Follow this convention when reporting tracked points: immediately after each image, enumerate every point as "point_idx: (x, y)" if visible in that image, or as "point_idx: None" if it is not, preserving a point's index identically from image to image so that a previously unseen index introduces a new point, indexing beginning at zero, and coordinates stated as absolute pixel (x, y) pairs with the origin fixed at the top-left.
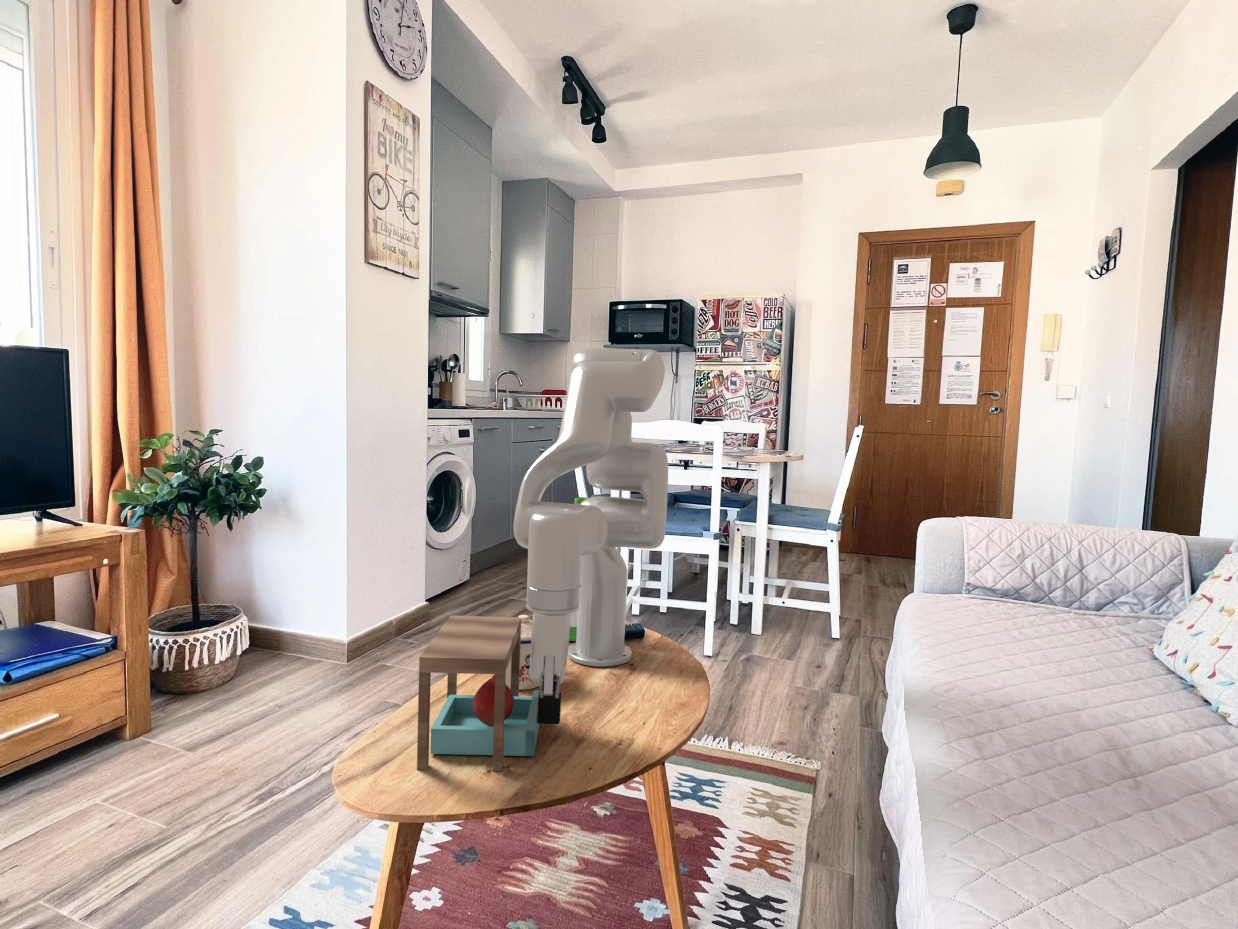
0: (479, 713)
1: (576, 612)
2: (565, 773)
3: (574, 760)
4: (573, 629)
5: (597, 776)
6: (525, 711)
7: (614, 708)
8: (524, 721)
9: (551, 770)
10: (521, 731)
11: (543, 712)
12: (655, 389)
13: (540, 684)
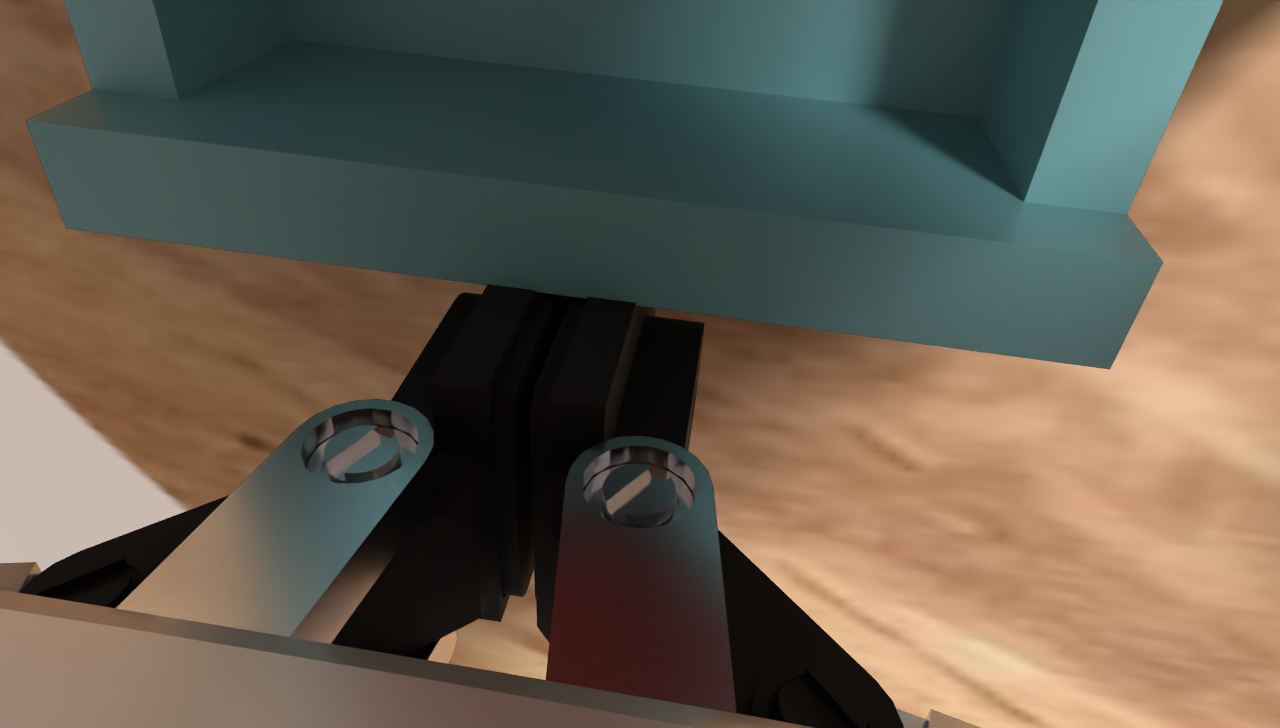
0: None
1: None
2: (150, 305)
3: (325, 374)
4: None
5: (180, 462)
6: (1016, 41)
7: (1076, 689)
8: (835, 17)
9: None
10: (84, 33)
11: (436, 333)
12: None
13: (125, 608)
